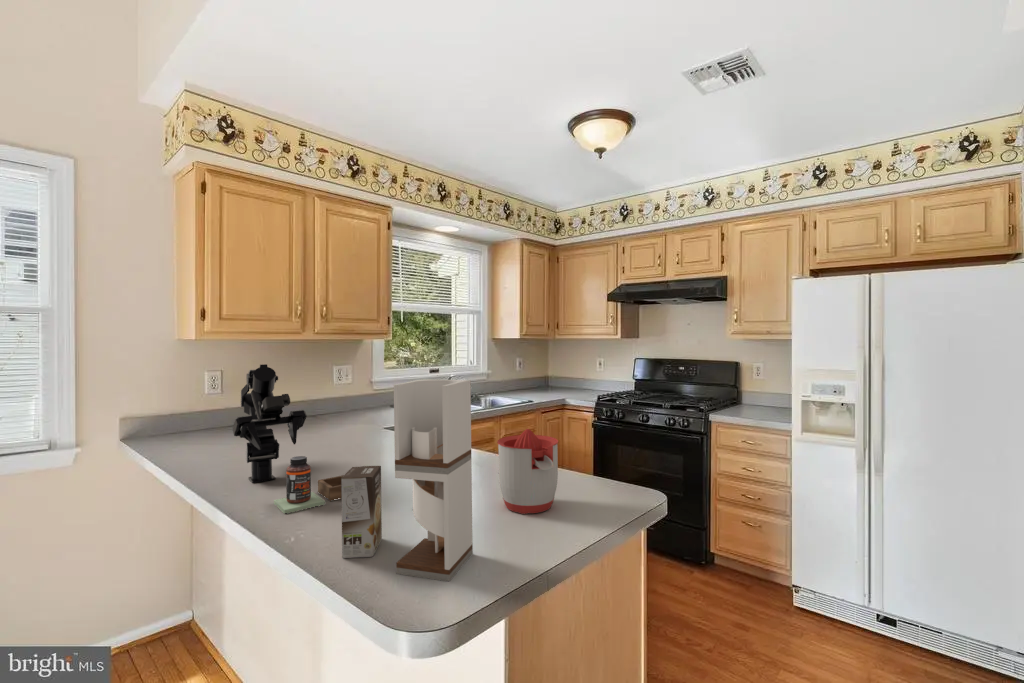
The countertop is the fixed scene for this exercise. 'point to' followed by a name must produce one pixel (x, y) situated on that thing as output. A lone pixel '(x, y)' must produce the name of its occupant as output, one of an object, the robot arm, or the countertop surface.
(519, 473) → the citrus juicer
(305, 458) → the supplement bottle
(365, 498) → the coffee box
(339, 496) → the walnut collar
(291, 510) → the sage rubber mat
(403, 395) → the white tiered shelf stand
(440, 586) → the countertop surface
